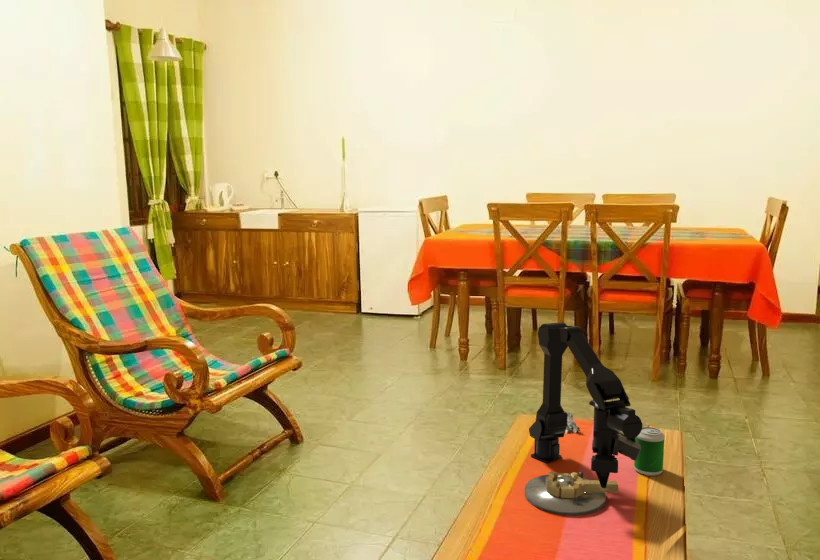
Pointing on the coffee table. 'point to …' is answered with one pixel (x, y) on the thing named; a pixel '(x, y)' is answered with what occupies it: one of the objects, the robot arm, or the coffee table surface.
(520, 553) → the coffee table surface
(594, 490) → the brass ring wrench
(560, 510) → the flange
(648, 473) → the soda can
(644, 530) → the coffee table surface
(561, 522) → the coffee table surface
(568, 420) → the grey rock pile
